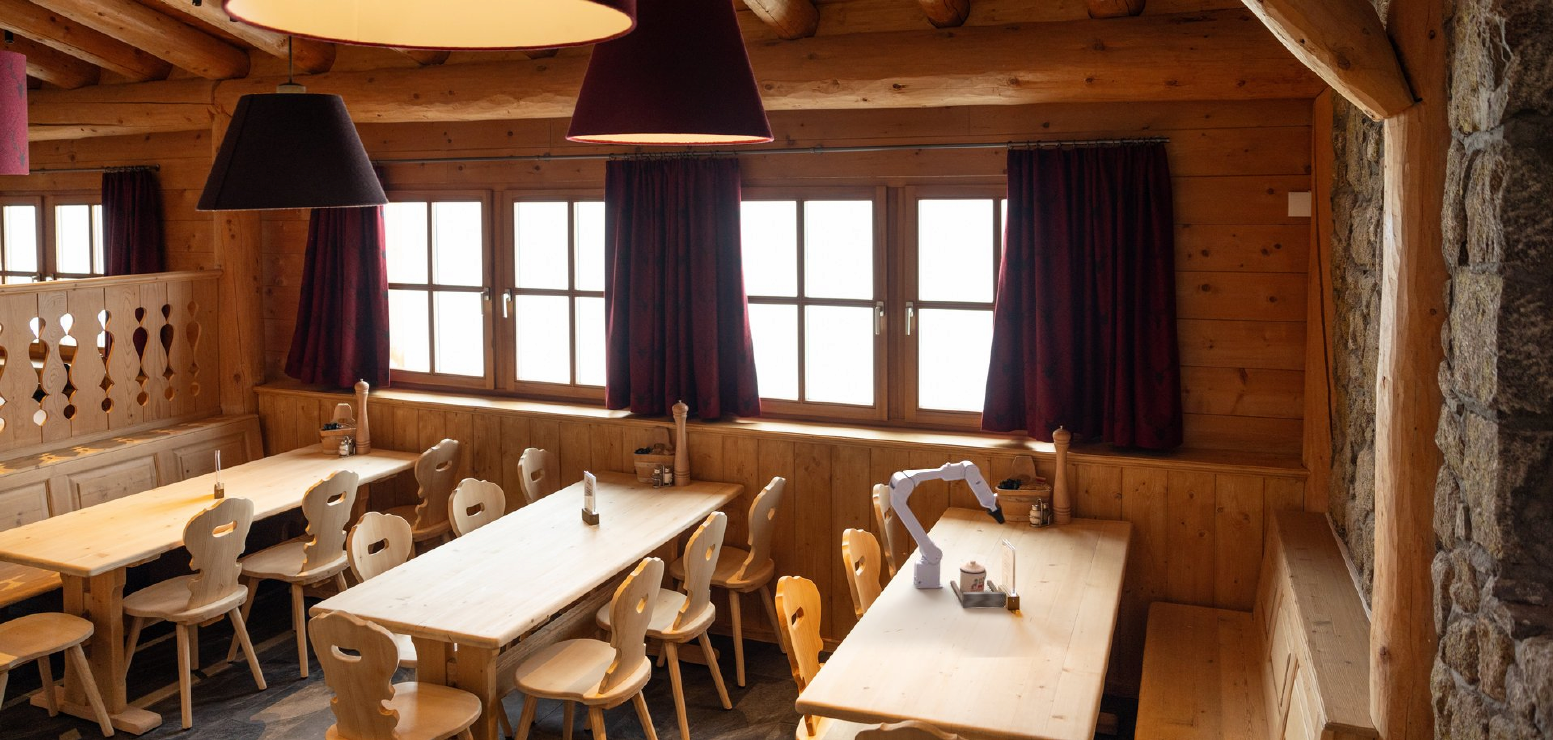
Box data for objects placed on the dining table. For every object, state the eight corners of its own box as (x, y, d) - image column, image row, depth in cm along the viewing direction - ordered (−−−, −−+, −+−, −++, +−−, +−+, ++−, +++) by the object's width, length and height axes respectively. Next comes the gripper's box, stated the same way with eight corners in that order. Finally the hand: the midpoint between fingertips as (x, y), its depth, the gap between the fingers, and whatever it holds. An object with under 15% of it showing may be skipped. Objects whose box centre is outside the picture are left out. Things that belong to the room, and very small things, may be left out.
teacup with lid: (973, 598, 421) (974, 566, 419) (953, 591, 427) (954, 560, 426) (995, 590, 428) (996, 559, 427) (975, 584, 435) (976, 553, 433)
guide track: (963, 607, 411) (963, 594, 410) (950, 584, 435) (950, 571, 434) (1006, 607, 411) (1006, 593, 411) (990, 584, 435) (991, 571, 434)
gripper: (995, 490, 424) (1014, 520, 427) (986, 478, 438) (1004, 506, 441) (978, 501, 425) (997, 530, 428) (970, 488, 439) (988, 516, 442)
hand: (1000, 519), depth 435 cm, fingers open, 7 cm apart
